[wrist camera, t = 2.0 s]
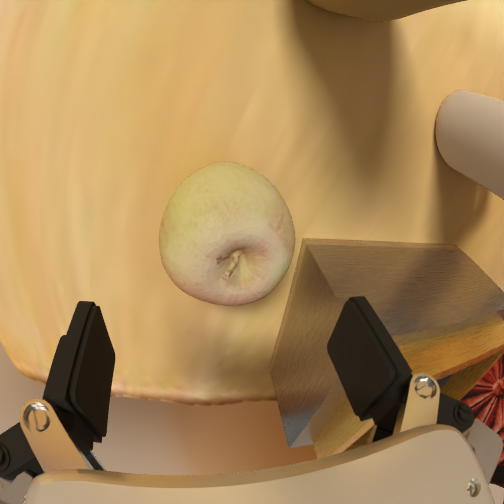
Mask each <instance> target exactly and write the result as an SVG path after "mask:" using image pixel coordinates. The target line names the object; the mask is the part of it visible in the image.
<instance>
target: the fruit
mask: <svg viewBox="0 0 504 504" xmlns="http://www.w3.org/2000/svg"><path fill="white" fill-rule="evenodd" d="M159 247H160V256H161V260H162V263H163V266H164V268H165V270H166V272H167V274H168V275H169V277H170V278H171V280H172V281H173V283H174V284H175V285H176V286H177V287H178V288H179V289H181V290H182V291H183V292H185V293H186V294H188V295H190V296H192V297H194V298H197V299H199V300H202V301H206V302H209V303H213V304H219V305H226V306H235V305H244V304H247V303H251V302H254V301H256V300H259V299H261V298H262V297H264V296H266V295H267V294H268V293H269V292H271V291H272V290H273V289H274V288H275V287H276V286H277V285H278V284H279V283H280V281H281V280H282V278H283V277H284V275H285V273H286V272H287V270H288V268H289V265H290V263H291V260H292V256H293V253H294V247H295V231H294V225H293V221H292V217H291V215H290V212H289V210H288V207H287V205H286V203H285V201H284V199H283V198H282V196H281V195H280V193H279V192H278V190H277V189H276V187H275V186H274V185H273V184H272V183H271V182H270V181H269V180H268V179H267V178H265V177H264V176H263V175H261V174H260V173H258V172H257V171H255V170H253V169H251V168H249V167H246V166H244V165H240V164H237V163H233V162H220V163H215V164H212V165H209V166H207V167H204V168H202V169H200V170H198V171H196V172H195V173H193V174H192V175H190V176H189V177H188V178H187V179H186V180H185V181H184V182H182V183H181V184H180V185H179V186H178V188H177V189H176V190H175V192H174V193H173V195H172V196H171V198H170V201H169V203H168V205H167V207H166V209H165V212H164V215H163V219H162V222H161V226H160V233H159Z"/></svg>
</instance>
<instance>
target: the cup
mask: <svg viewBox="0 0 504 504" xmlns="http://www.w3.org/2000/svg"><path fill="white" fill-rule="evenodd" d="M435 135H436V143H437V146H438V149H439V152H440V154H441V156H442V158H443V159H444V161H445V162H446V163H447V164H448V165H449V166H450V167H451V168H453V169H454V170H456V171H458V172H459V173H461V174H463V175H465V176H467V177H468V178H470V179H472V180H473V181H475V182H477V183H478V184H480V185H482V186H483V187H485V188H486V189H488V190H490V191H491V192H493V193H494V194H496V195H497V196H499V197H500V198H502V199H503V200H504V100H500V99H497V98H494V97H490V96H487V95H483V94H479V93H475V92H471V91H466V90H459V91H455V92H453V93H452V94H450V95H449V96H447V97H446V99H445V100H444V101H443V102H442V104H441V106H440V108H439V111H438V114H437V118H436V126H435Z"/></svg>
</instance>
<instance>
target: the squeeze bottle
mask: <svg viewBox="0 0 504 504" xmlns="http://www.w3.org/2000/svg"><path fill="white" fill-rule="evenodd" d="M308 1H309V2H310V3H312V4H313V5H315V6H317V7H320V8H322V9H324V10H326V11H329V12H332V13H337V14H342V15H347V16H351V17H355V18H361V19H367V20H372V21H377V22H384V21H389V20H394V19H399V18H403V17H406V16H409V15H412V14H415V13H419V12H422V11H425V10H429V9H432V8H436V7H440V6H444V5H448V4H452V3H456V2H461V1H466V0H308Z"/></svg>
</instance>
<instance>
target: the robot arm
mask: <svg viewBox="0 0 504 504" xmlns="http://www.w3.org/2000/svg"><path fill="white" fill-rule="evenodd" d="M327 352H328V354H329V356H330V359H331V361H332V363H333V365H334V368H335V370H336V372H337V375H338V377H339V379H340V381H341V384H342V386H343V388H344V391H345V393H346V395H347V398H348V400H349V402H350V405H351V407H352V409H353V412H354V414H355V415H356V416H359V419H360V421H361V422H362V421H365V420H368V419H371V418H372V419H373V421H374V425H373V428H372V431H371V434H370V437H369V439H368V442H367V445H364V446H361V447H358V448H355V449H351V450H348V451H345V452H341V453H338V454H334V455H331V456H327V457H323V458H319V459H315V460H311V461H307V462H302V463H297V464H292V465H287V466H282V467H276V468H270V469H263V470H256V471H249V472H239V473H228V474H214V475H187V476H186V475H185V476H184V475H183V476H182V475H179V476H178V475H174V476H173V475H147V474H132V473H121V472H111V471H106V469H105V468H104V467H103V465H102V464H101V463H100V461H99V460H98V459H97V458H96V456H95V455H94V453H93V452H92V449H93V442H99V443H102V437H105V436H106V433H107V421H108V410H109V402H110V393H111V386H112V378H113V372H114V365H115V352H114V349H113V346H112V343H111V340H110V337H109V335H108V332H107V328H106V325H105V322H104V319H103V316H102V313H101V309H100V307H99V306H96V305H95V303H94V302H88V301H79V302H78V304H77V307H76V309H75V312H74V315H73V317H72V320H71V323H70V326H69V329H68V331H67V334H66V335H63V336H62V337H61V338H60V340H59V343H58V346H57V349H56V353H55V356H54V359H53V362H52V365H51V369H50V372H49V376H48V379H47V383H46V387H45V391H44V395H43V399H32V400H29V401H28V402H27V403H25V404H24V406H23V407H22V409H21V411H20V415H19V421H20V422H19V423H17V424H16V425H14V426H13V427H11V428H10V429H8V430H7V431H5V432H4V433H2V434H1V435H0V504H23V502H24V501H25V504H495V503H494V499H493V497H492V494H491V491H490V488H489V486H488V485H489V483H490V480H491V478H492V476H493V473H494V471H495V468H496V466H497V463H498V461H499V458H500V455H501V453H502V449H503V441H502V439H501V437H500V436H499V435H498V434H497V433H495V432H494V431H493V430H492V429H490V428H489V427H488V426H487V425H485V424H484V423H483V422H482V421H480V420H479V419H478V418H476V419H474V414H473V411H472V409H471V408H470V407H469V406H468V405H467V404H466V403H464V402H462V401H459V400H457V399H454V398H452V397H450V396H447V395H445V394H443V393H440V388H439V385H438V383H437V381H436V380H435V379H434V378H433V377H432V376H430V375H428V374H426V373H418V374H416V375H414V376H413V375H412V374H411V373H412V372H413V371H412V370H411V368H410V366H409V365H408V363H407V361H406V360H405V358H404V356H403V355H402V353H401V351H400V350H399V348H398V347H397V345H396V343H395V342H394V340H393V339H392V337H391V335H390V334H389V332H388V331H387V329H386V328H385V326H384V325H383V323H382V321H381V320H380V318H379V317H378V315H377V314H376V312H375V311H374V309H373V308H372V306H371V305H370V303H369V302H368V300H367V299H366V298H365V297H364V296H356V297H350V298H349V299H348V301H346V302H345V304H344V306H343V309H342V311H341V313H340V316H339V318H338V321H337V323H336V325H335V327H334V330H333V332H332V334H331V337H330V339H329V341H328V343H327ZM25 495H26V498H24V496H25Z"/></svg>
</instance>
